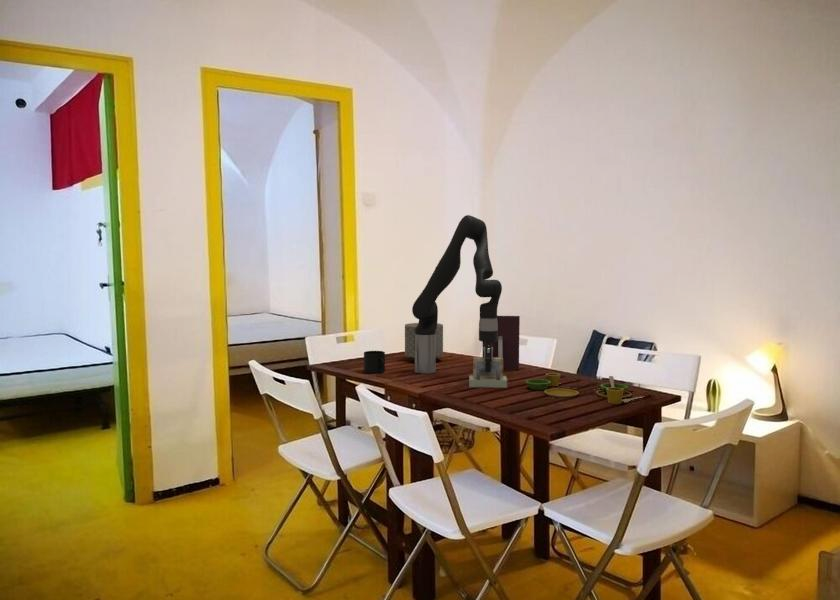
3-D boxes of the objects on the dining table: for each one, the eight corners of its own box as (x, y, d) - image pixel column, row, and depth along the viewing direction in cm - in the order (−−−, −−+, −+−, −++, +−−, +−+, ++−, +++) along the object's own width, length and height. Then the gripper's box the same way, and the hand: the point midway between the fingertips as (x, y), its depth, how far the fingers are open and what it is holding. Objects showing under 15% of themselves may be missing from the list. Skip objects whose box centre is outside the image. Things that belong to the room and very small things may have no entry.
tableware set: (650, 400, 234) (650, 383, 234) (599, 410, 218) (600, 392, 218) (566, 381, 268) (566, 366, 268) (517, 389, 253) (517, 373, 252)
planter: (450, 360, 318) (450, 324, 317) (424, 365, 304) (424, 327, 303) (423, 356, 331) (423, 321, 330) (396, 361, 317) (396, 324, 316)
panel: (473, 378, 257) (473, 358, 256) (473, 376, 261) (473, 357, 260) (503, 379, 256) (503, 359, 255) (502, 377, 260) (502, 357, 259)
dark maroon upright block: (518, 369, 293) (519, 315, 291) (520, 373, 283) (520, 317, 281) (482, 369, 294) (482, 315, 293) (482, 373, 285) (482, 317, 283)
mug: (374, 375, 279) (374, 355, 278) (359, 371, 288) (359, 351, 288) (392, 373, 285) (392, 353, 284) (377, 369, 294) (377, 350, 293)
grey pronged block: (469, 387, 254) (469, 369, 254) (469, 382, 263) (469, 365, 263) (507, 387, 253) (507, 370, 253) (505, 383, 262) (506, 366, 262)
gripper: (498, 331, 249) (497, 374, 250) (497, 327, 264) (496, 367, 265) (479, 331, 250) (478, 374, 251) (478, 327, 264) (478, 367, 265)
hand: (487, 370), depth 258 cm, fingers open, 5 cm apart
